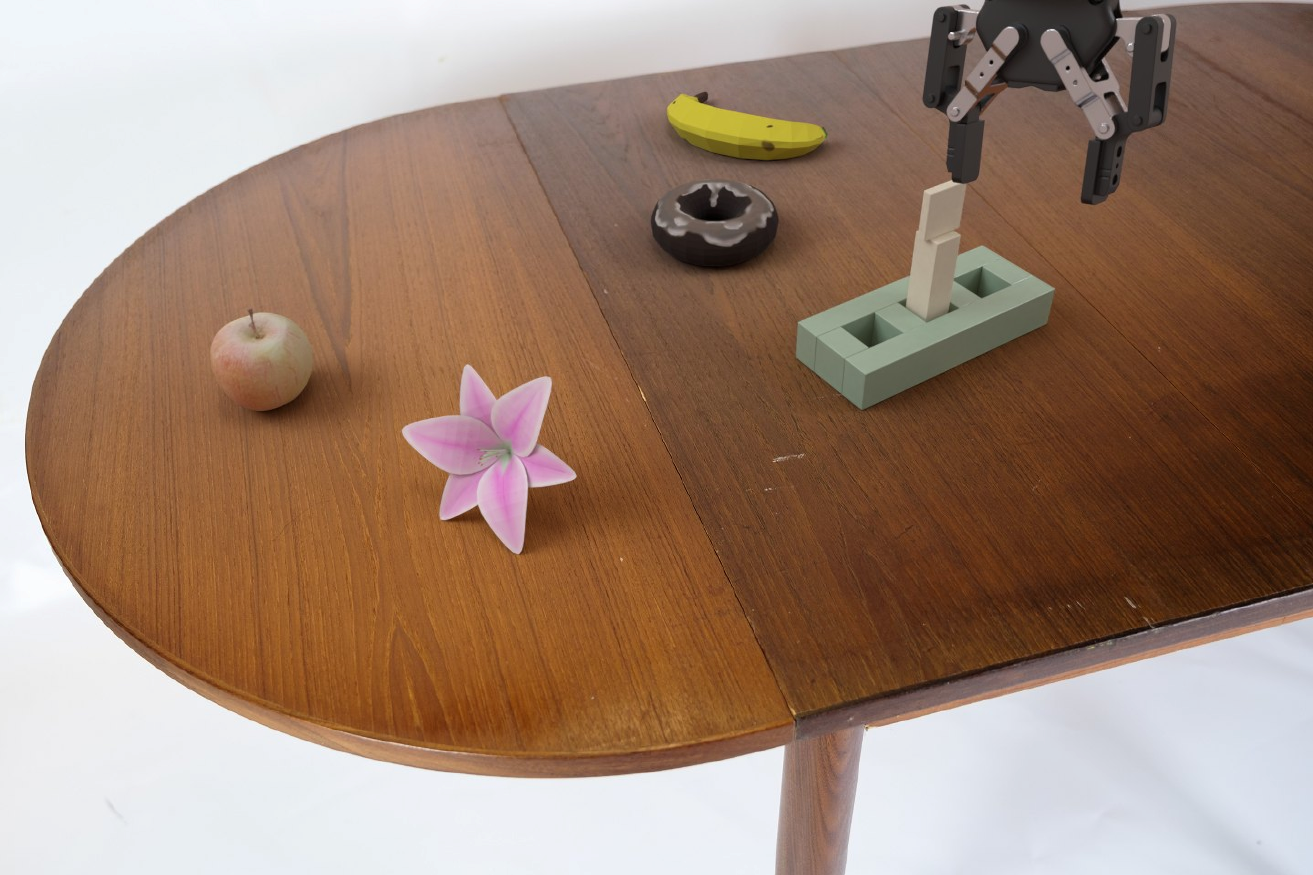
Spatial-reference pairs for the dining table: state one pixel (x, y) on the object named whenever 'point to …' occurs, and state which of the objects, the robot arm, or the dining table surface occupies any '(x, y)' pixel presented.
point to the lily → (491, 453)
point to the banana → (741, 131)
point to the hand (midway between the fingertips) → (1027, 191)
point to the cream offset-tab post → (936, 251)
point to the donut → (714, 222)
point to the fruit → (261, 360)
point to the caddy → (921, 329)
